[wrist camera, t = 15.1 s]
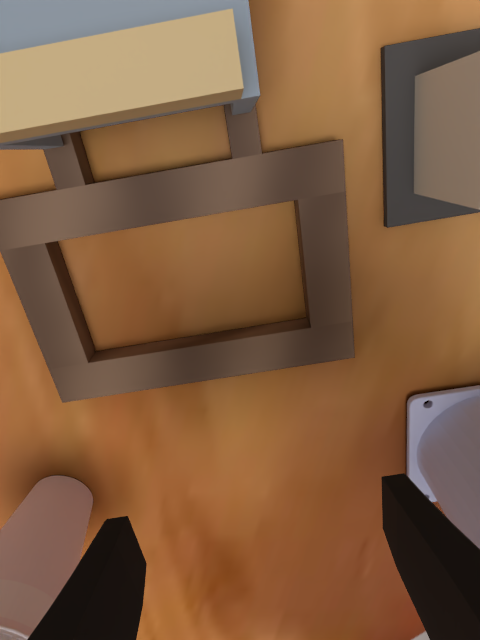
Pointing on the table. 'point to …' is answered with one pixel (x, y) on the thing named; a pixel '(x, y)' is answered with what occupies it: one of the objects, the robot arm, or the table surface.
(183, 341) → the puzzle board
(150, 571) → the table surface
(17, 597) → the smoothie
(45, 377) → the table surface
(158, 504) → the table surface
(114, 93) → the cover
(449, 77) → the block
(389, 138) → the mat
